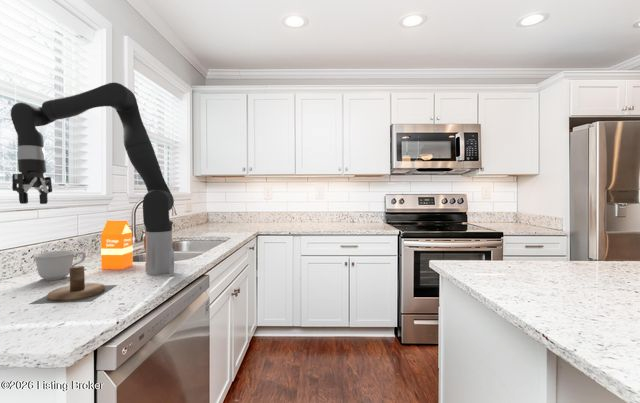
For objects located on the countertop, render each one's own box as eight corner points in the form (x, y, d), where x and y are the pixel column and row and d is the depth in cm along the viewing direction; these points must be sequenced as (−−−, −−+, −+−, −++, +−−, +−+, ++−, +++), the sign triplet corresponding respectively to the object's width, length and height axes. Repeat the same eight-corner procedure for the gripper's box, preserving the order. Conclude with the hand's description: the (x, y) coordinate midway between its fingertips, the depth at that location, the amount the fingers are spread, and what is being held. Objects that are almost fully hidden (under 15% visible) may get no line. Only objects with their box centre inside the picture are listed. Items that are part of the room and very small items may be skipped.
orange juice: (122, 269, 133) (121, 221, 132) (101, 269, 132) (100, 221, 132) (133, 264, 140) (132, 219, 140) (112, 264, 140) (112, 219, 140)
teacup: (88, 279, 117) (88, 252, 116) (34, 287, 106) (33, 258, 106) (82, 273, 125) (82, 248, 125) (32, 280, 115) (31, 253, 114)
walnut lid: (113, 285, 106) (112, 261, 105) (89, 300, 92) (89, 272, 92) (66, 287, 103) (66, 262, 103) (35, 302, 90) (34, 274, 89)
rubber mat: (117, 287, 107) (117, 284, 107) (91, 304, 91) (91, 301, 91) (65, 289, 104) (65, 286, 104) (28, 307, 88) (28, 303, 88)
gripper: (25, 156, 109) (28, 203, 108) (57, 161, 123) (59, 203, 123) (2, 157, 108) (5, 204, 108) (37, 162, 122) (39, 204, 122)
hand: (34, 203), depth 115 cm, fingers open, 8 cm apart
